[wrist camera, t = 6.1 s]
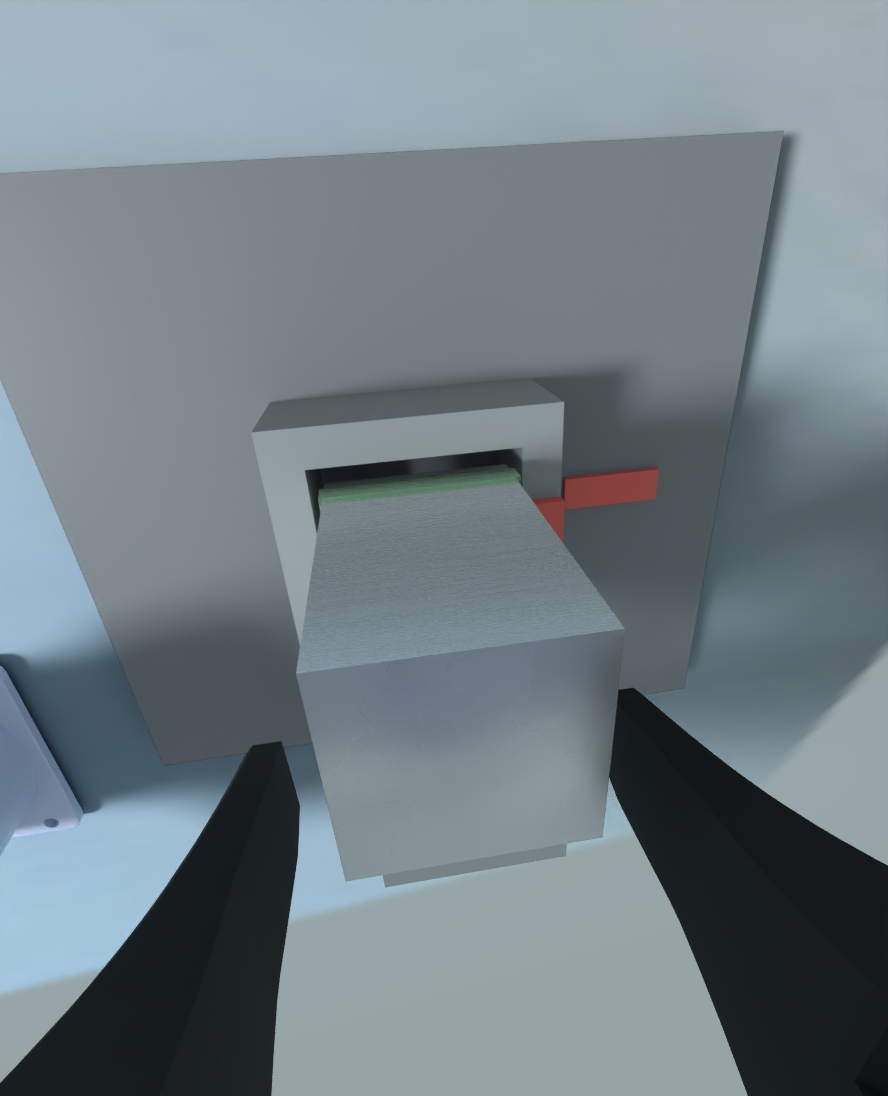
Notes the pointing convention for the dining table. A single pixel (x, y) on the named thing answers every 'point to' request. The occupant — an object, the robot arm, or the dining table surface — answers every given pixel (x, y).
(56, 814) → the robot arm
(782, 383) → the dining table surface
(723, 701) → the dining table surface
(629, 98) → the dining table surface
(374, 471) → the jack base
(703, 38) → the dining table surface
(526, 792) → the white rectangular block
